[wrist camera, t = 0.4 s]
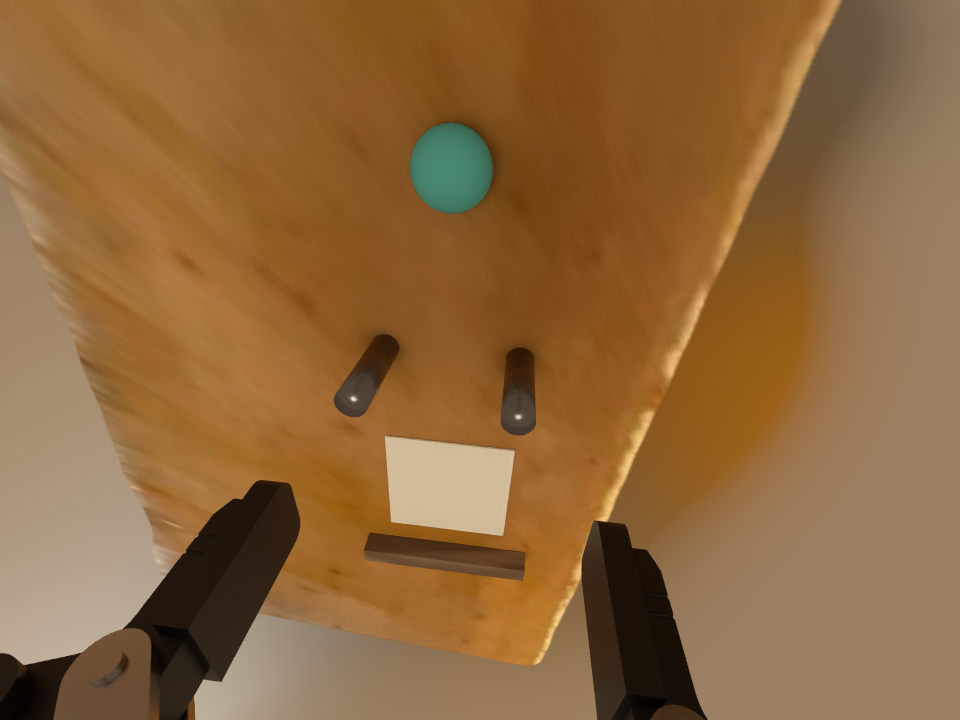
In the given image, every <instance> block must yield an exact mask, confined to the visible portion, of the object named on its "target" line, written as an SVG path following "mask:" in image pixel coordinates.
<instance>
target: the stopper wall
mask: <svg viewBox="0 0 960 720" xmlns="http://www.w3.org/2000/svg"><path fill="white" fill-rule="evenodd" d="M364 557H365V560H367V561H375V562H382V563H390V564H398V565H405V566H413V567H421V568H429V569H436V570H444V571H452V572H459V573H467V574H475V575H483V576H490V577H498V578H506V579H513V580H521V581H523V576H524V570H525V553H524V552H517V551H509V550H501V549H493V548H485V547H477V546H469V545H461V544H453V543H445V542H437V541H429V540H421V539H413V538H405V537H398V536H390V535H382V534H374V533H370V535H369V537H368V540H367V543H366V545H365V548H364Z"/></svg>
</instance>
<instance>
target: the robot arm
mask: <svg viewBox="0 0 960 720" xmlns="http://www.w3.org/2000/svg"><path fill="white" fill-rule="evenodd" d="M299 530H300V517H299V513H298V509H297V506H296V502H295V499H294V495H293V491H292V488H291V485H290V484H289V483H283V482H274V481H266V480H259V481H257V482H255V483H254V484H253V486H252V487H251V488H250V489H249V491H248V492H247V494H246V495H245V496H244V498H243V499H242V500H241V499H233V500H231V501H230V502H229V503H227V504H226V505H225V506H224V507H222V508H221V509H220V510H218V511H217V512H216V513H214V514H213V515H212V517H211V518H210V519H209V521H208V522H207V523H206V525H205V526H204V527H203V529H202V530H201V531H200V532H199V535H198V537H197V538H195V539H194V540H193V542H192V543H191V544H190V545H189V547H188V548H187V549H186V553H185V554H183V555H182V556H181V557H180V558H179V560H178V561H177V562H176V564H175V565H174V566H173V568H172V569H171V570H170V571H169V573H168V574H167V575H166V577H165V578H164V579H163V581H162V582H161V583H160V585H159V586H158V587H157V588H156V590H155V591H154V592H153V594H152V595H151V596H150V598H149V599H148V600H147V601H146V603H145V604H144V605H143V607H142V608H141V609H140V611H139V612H138V613H137V614H136V616H135V617H134V618H133V619H132V620H131V622H130V623H128V625H126V627H124V628H123V629H122V630H118V631H116V632H113V633H110V634H108V635H106V636H104V637H102V638H101V639H99V640H98V641H96V642H95V643H93V644H92V645H91V646H89V647H88V648H87V649H86V650H85V651H83V652H82V653H78V654H75V655H70V656H66V657H61V658H57V659H51V660H47V661H42V662H37V663H33V664H28V665H23V664H22V663H20V662H19V661H18V660H17V659H16V658H15V657H13V656H11V655H9V654H4V653H1V654H0V720H195V702H194V695H195V693H196V691H197V690H198V688H199V686H200V684H201V683H202V681H203V679H205V680H211V681H219V682H221V681H222V680H223V678H224V676H225V674H226V672H227V670H228V668H229V666H230V664H231V663H232V661H233V659H234V657H235V655H236V653H237V651H238V649H239V647H240V646H241V644H242V642H243V640H244V638H245V636H246V634H247V633H248V631H249V629H250V627H251V625H252V623H253V621H254V619H255V618H256V616H257V614H258V612H259V610H260V608H261V606H262V604H263V602H264V601H265V599H266V597H267V595H268V593H269V591H270V589H271V587H272V586H273V584H274V582H275V580H276V578H277V576H278V574H279V572H280V571H281V569H282V567H283V565H284V563H285V561H286V559H287V557H288V555H289V554H290V552H291V550H292V548H293V546H294V544H295V542H296V540H297V537H298V534H299ZM582 585H583V595H584V604H585V613H586V622H587V630H588V639H589V648H590V657H591V666H592V675H593V684H594V692H595V702H596V711H597V720H708V719H707V718H706V716H705V714H704V713H703V711H702V709H701V706H700V704H699V702H698V699H697V696H696V693H695V690H694V686H693V682H692V679H691V675H690V672H689V668H688V665H687V661H686V657H685V654H684V650H683V647H682V643H681V640H680V637H679V633H678V629H677V626H676V622H675V620H674V619H673V612H672V608H671V605H670V601H669V599H668V597H667V595H668V594H667V590H666V587H665V583H664V580H663V577H662V573H661V571H660V569H659V567H658V566H657V564H656V563H655V561H654V560H653V559H652V557H651V556H650V554H649V553H648V551H647V550H644V549H635V548H632V546H631V542H630V537H629V534H628V530H627V527H626V525H625V524H620V523H612V522H603V521H594V522H593V524H592V527H591V531H590V534H589V537H588V540H587V543H586V547H585V550H584V553H583V558H582Z"/></svg>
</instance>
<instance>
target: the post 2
mask: <svg viewBox="0 0 960 720" xmlns="http://www.w3.org/2000/svg"><path fill="white" fill-rule="evenodd" d="M501 425H502V427H503V429H504V430H505V431H507V432H508V433H510V434H513V435H525V434H527V433H529V432H531V431H532V430H533V429H534V427H535V425H536V408H535V374H534V357H533V355H532V353H531V352H530V351H528V350H527V349H524V348H516V349H513V350H512V351H510V352H509V353H508V355H507V357H506V365H505V376H504V388H503V399H502V411H501Z"/></svg>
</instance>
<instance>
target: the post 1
mask: <svg viewBox="0 0 960 720" xmlns="http://www.w3.org/2000/svg"><path fill="white" fill-rule="evenodd" d="M398 352H399V345H398V343H397V341H396V340H395V339H394V338H393V337H391V336H389V335H384V334H382V335H378V336H376V337H375V338H374V339H373V341H372V342H371V344H370V345H369V347H368V348H367V350H366V351H365V352H364V354H363V355H362V357H361V358H360V360H359V361H358V363H357V364H356V365H355V367H354V368H353V370H352V371H351V373H350V374H349V376H348V377H347V378H346V380H345V381H344V383H343V384H342V386H341V387H340V389H339V390H338V392H337V393H336V394H335V396H334V404H335V406H336V408H337V409H338V410H339V411H340V412H341V413H343V414H344V415H347V416H350V417H359V416H362V415H363V414H365V412H366V411H367V409H368V407H369V405H370V404H371V402H372V400H373V398H374V396H375V394H376V393H377V391H378V389H379V387H380V385H381V383H382V382H383V380H384V378H385V376H386V374H387V372H388V371H389V369H390V367H391V365H392V363H393V361H394V360H395V358H396V356H397V354H398Z"/></svg>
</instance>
